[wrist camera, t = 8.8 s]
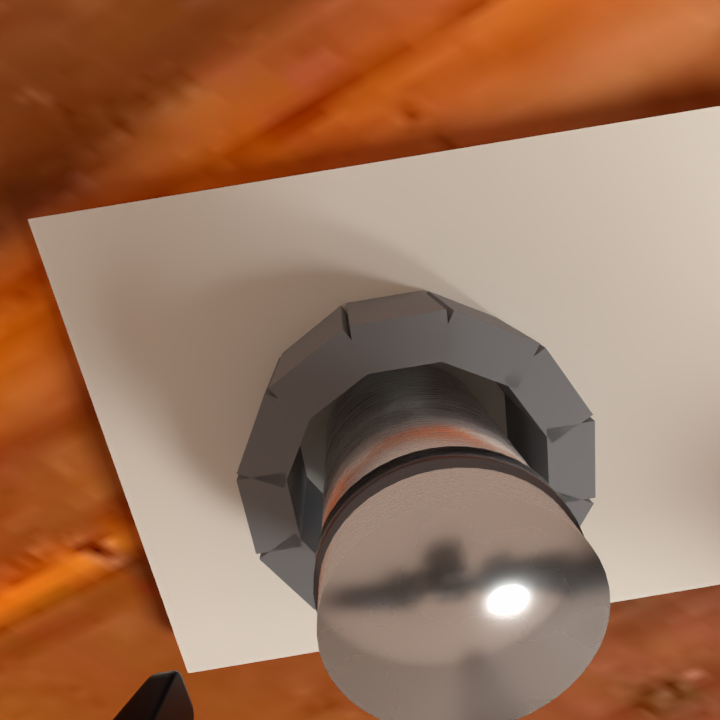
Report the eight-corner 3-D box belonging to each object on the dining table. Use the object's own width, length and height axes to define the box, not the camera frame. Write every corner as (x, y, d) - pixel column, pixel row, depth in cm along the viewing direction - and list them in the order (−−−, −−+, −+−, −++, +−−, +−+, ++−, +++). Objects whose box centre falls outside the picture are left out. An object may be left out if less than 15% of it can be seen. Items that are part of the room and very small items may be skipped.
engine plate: (797, 98, 14) (1010, 42, 9) (747, 546, 18) (874, 646, 14) (60, 219, 14) (-69, 218, 9) (199, 637, 18) (157, 766, 14)
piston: (481, 346, 14) (617, 466, 7) (493, 495, 15) (615, 712, 9) (308, 375, 14) (281, 522, 7) (338, 521, 15) (339, 757, 9)
